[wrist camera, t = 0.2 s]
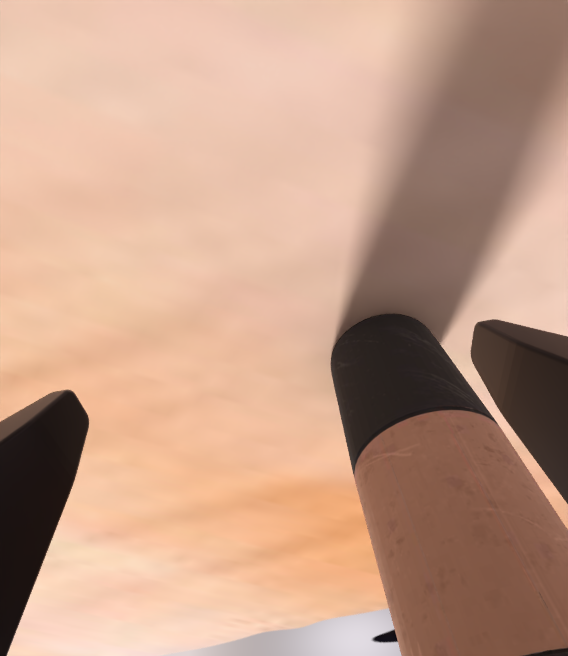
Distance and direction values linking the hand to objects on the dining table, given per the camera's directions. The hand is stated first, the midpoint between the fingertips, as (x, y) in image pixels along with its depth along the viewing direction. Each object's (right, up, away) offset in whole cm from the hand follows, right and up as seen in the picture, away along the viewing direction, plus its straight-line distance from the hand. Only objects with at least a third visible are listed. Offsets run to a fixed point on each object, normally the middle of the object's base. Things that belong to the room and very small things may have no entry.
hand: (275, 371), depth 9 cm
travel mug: (+7, -1, +19) cm, 20 cm away
